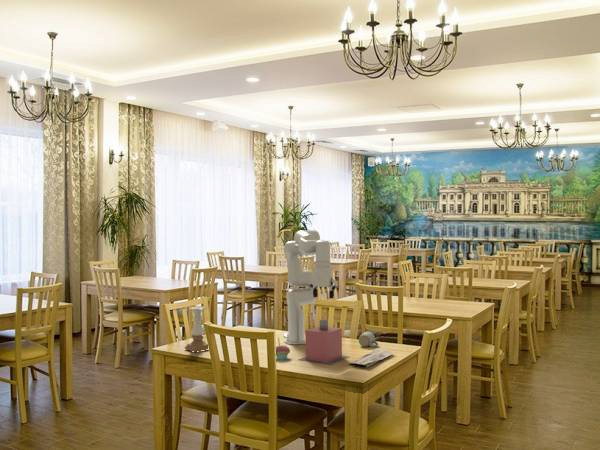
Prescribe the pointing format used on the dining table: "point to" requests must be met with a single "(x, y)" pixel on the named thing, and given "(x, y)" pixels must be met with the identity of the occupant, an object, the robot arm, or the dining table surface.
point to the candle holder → (197, 331)
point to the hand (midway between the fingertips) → (323, 297)
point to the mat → (324, 362)
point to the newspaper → (372, 358)
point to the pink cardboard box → (323, 343)
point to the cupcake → (282, 351)
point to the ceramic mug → (367, 339)
